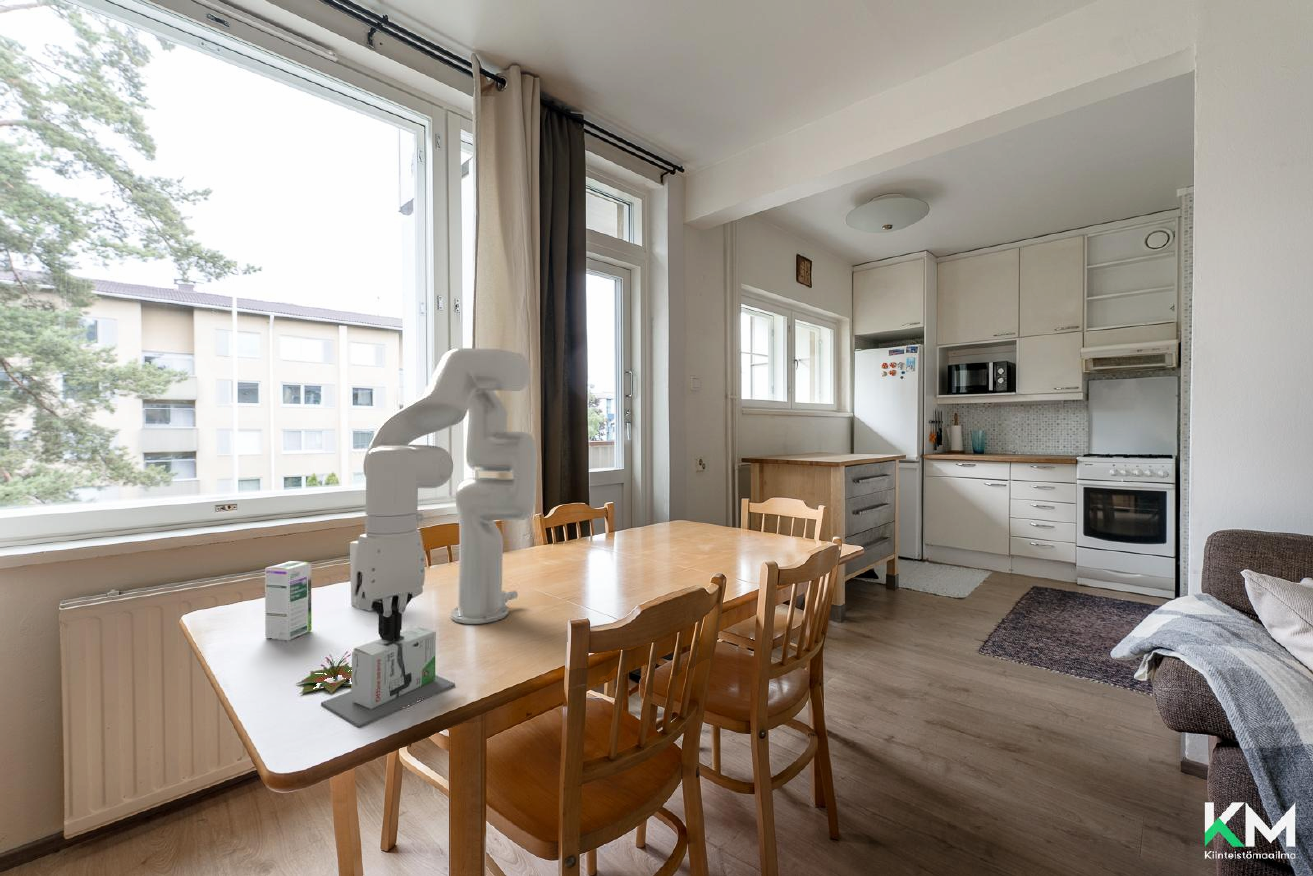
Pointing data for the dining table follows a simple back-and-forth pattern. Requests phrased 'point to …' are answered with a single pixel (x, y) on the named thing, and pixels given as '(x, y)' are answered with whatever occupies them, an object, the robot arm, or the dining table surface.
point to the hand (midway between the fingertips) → (389, 637)
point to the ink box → (392, 666)
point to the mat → (364, 715)
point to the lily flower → (328, 676)
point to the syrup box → (288, 600)
